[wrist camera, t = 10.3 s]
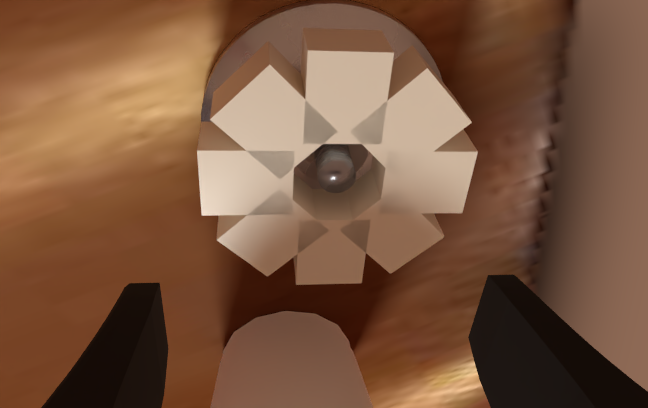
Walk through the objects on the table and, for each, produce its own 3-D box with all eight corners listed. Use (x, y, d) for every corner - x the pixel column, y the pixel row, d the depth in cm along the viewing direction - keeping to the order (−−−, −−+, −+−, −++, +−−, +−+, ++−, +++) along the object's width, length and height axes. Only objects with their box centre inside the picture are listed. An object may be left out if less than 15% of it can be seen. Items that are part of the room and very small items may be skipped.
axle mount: (421, 216, 24) (446, 277, 21) (208, 218, 23) (202, 283, 20) (464, 3, 19) (506, 43, 16) (194, -7, 18) (182, 34, 15)
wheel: (432, 248, 22) (444, 281, 20) (210, 252, 21) (206, 286, 19) (481, 33, 17) (502, 55, 16) (195, 24, 16) (189, 47, 15)
